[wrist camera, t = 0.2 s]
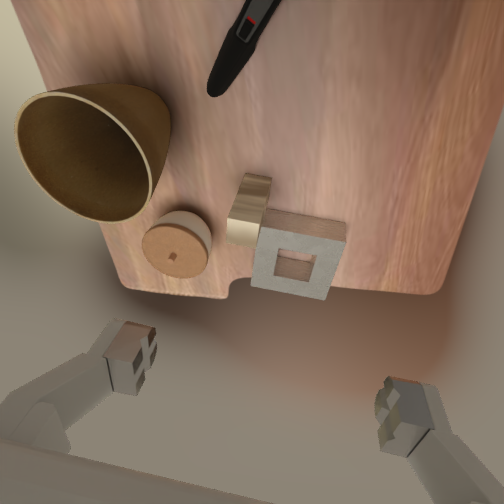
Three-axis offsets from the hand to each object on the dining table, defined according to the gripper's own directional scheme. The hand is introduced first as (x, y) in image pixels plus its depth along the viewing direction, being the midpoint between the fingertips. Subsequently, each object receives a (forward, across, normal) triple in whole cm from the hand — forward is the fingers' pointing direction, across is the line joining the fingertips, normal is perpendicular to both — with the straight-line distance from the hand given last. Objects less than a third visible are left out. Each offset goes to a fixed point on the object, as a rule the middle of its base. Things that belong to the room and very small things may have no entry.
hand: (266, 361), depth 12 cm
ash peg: (+40, +5, +12) cm, 42 cm away
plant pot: (+40, +22, +4) cm, 46 cm away
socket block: (+42, -3, +22) cm, 47 cm away
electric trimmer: (+39, +8, -8) cm, 40 cm away
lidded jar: (+42, +16, +22) cm, 50 cm away
